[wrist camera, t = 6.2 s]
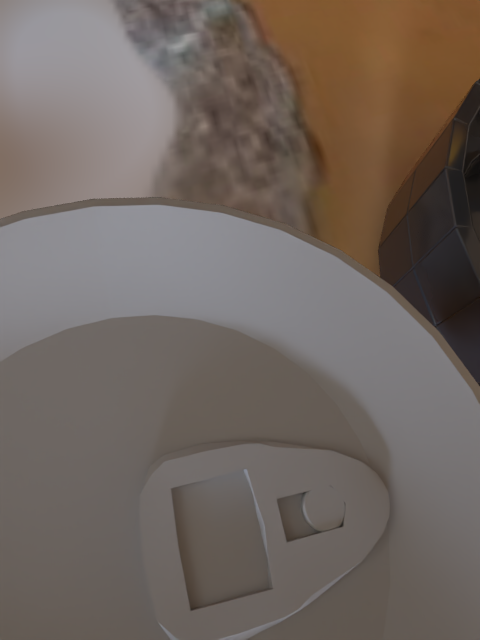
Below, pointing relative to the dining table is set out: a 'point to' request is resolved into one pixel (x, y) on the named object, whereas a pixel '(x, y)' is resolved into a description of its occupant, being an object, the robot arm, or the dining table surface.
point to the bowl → (441, 233)
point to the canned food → (225, 436)
